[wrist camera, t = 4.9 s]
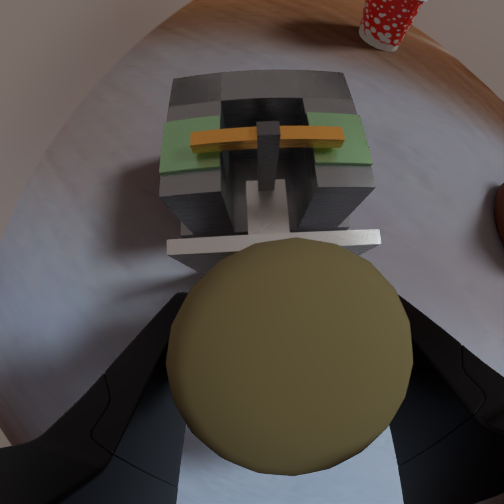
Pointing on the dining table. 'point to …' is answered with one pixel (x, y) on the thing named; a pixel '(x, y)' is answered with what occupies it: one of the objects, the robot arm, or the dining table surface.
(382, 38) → the beverage cup
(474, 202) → the dining table surface
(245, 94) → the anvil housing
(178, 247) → the plunger
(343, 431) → the cork
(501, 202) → the poop emoji
